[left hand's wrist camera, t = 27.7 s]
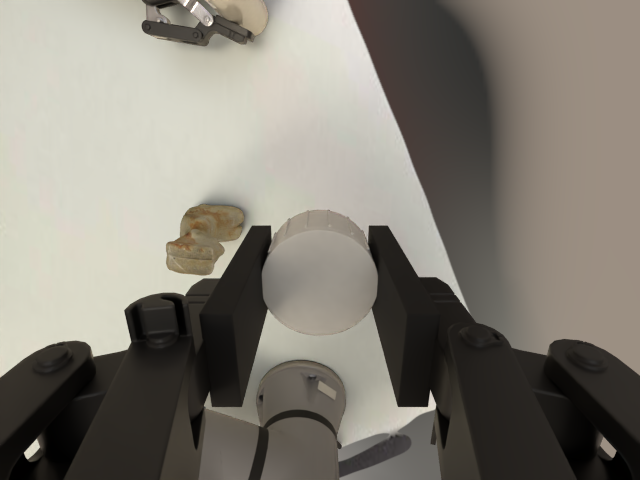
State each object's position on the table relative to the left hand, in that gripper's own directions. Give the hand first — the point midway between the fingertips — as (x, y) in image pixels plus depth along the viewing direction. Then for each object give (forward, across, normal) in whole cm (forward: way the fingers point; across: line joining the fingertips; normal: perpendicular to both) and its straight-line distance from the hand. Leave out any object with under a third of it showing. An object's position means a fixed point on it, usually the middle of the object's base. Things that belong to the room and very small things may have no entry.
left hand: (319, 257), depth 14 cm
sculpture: (+34, +14, +8) cm, 38 cm away
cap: (-2, 0, 0) cm, 2 cm away
